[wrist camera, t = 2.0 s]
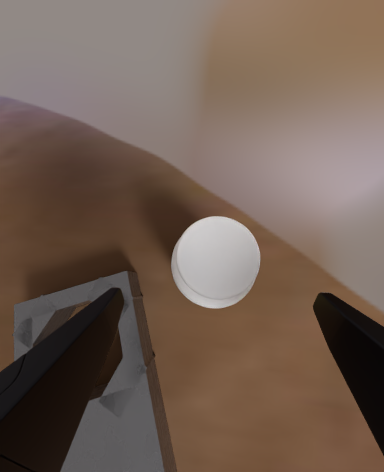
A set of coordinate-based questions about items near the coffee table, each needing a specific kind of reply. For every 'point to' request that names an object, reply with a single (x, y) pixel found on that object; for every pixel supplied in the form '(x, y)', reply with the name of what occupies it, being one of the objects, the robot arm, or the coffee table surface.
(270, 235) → the coffee table surface
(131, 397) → the socket plate
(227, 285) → the supplement bottle
